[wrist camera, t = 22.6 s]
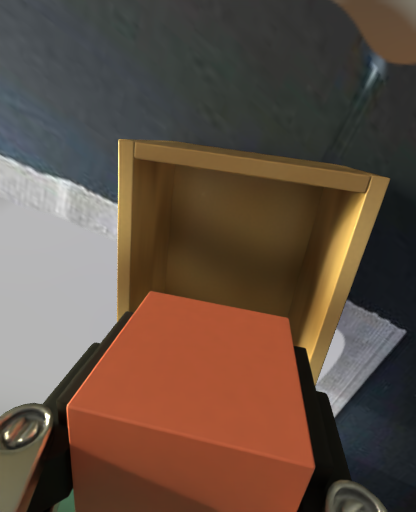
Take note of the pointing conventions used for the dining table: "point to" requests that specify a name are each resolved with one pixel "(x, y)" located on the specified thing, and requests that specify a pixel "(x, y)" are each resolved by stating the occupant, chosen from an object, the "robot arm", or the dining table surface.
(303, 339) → the light wood open box
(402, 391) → the dining table surface
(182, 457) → the block
